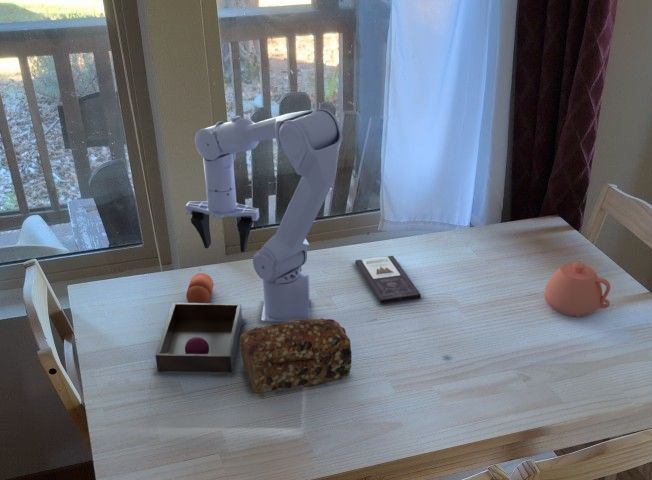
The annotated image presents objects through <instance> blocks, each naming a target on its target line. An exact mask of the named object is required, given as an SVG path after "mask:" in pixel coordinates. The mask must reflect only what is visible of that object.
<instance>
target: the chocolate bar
mask: <svg viewBox="0 0 652 480" xmlns="http://www.w3.org/2000/svg"><path fill="white" fill-rule="evenodd" d="M355 266H356V268H357V269H358V271H359V272H360V274H361V275H362V277H363V278H364V280H365V282H366V284H367V285H368V286H369V288H370V289H371V291H372V293H373V295H374V296H375V298H376V299H377V301H378V302H379V304H380V305H383V304H390V303H397V302H403V301H410V300H411V301H412V300H417V299H421V295H422V294H421V293H420V291H419V290H418V288H417V287H416V286H415V284H414V283H413V282H412V280H411V278H410V277H409V276H408V275H407V273H406V272H405V270H404V268H402V266H401V265H400V263H399V262H398V261H397V258H395V256H394V255H387V256H378V257H371V258H363V259H355Z"/></svg>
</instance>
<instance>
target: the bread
mask: <svg viewBox="0 0 652 480" xmlns="http://www.w3.org/2000/svg"><path fill="white" fill-rule="evenodd" d="M239 346H240V349H239V350H240V354H241V359H242V364H243V369H244V371H245V374H246V376H247V379H248V382H249V385H250V387H251V389H252V391H253V393H254V394H263V393H266V392H270V391H271V392H272V391H279V390H280V391H281V390H286V389H291V388H296V387H301V386H303V387H308V386H314V385H320V384H322V383H325V382H329V381H334V380H338V379H345V378H347V377H348V376H350V373H351V369H352V362H353V361H352V358H353V357H352V352H353V351H352V347H351V339H350V337H348V335H347V332H346V329H345V327H343V326H341V324H340V322H338V321H336V320H335V319H332V318H309V319H301V320H293V321H281V322H278V323H271V324H268V325H266V326H265V325H264V326H259V327H258V326H257V327H254V328H251V329H248V330H245V331H244V332H242V334H241V335H240V336H239Z"/></svg>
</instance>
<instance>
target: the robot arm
mask: <svg viewBox="0 0 652 480" xmlns="http://www.w3.org/2000/svg"><path fill="white" fill-rule="evenodd" d="M274 139H275V141H276V145H277V146H278V147H279V148H282V150H283V152H284V154H285V155H286V157H287V159H288V160H289V163H290V164H291V166H292V168H293V169H294V171H295V173H296V175H299V176H301V178H300V180H299V182H298V184H297V186H296V188H295V191H294V193H293V195H292V197H291V199H290V201H289V203H288V206H287V208H286V210H285V213H284V214H283V217H282V219H281V221H280V223H279V225H278V227H277V230H276V233H274V235H272V236H271V237H270V238H269V239H268V240H267V241H266V242H265V243H264V244H263V245H262V247H261V249H260V250H258V251H256V252H255V253H254V254H253V256H252V265H253V269H254V271H255V273H256V275H257V276H258V277H259V278H260V279H261V280H262V287H263V307H262V312H261V319H260V320H261V321H262V322H291V321H293V320H301V319H310V310H311V309H312V299H311V298H310V297H311V290H310V289H311V288H310V286H311V285H310V274H308V273H303V272H302V267H303V266H305V264H306V263H307V260H308V249H309V247H310V244H309V241H308V240H307V236H308V234H309V232H310V230H311V228H312V226H313V224H314V222H315V220H316V218H317V216H318V214H319V212H320V211H321V209H322V206H323V205H324V203H325V200H326V198H327V196H328V195H329V192H330V190H331V188H332V186H333V184H334V183H335V180H336V176H337V164H338V152H339V151H338V150H339V148H340V146H341V144H342V141H343V139H344V136H343V132H342V130H341V127H340V123H339V120H338V118H337V117H336V116H335V114H334V113H333V112H332V111H331V110H329V109H326V108H320V109H318V110H316V111H314V110H313V109H310V110H301V111H296V112H289V113H284V114H282V115H279V116H274V117H271V118H268V119H264V120H261V121H258V122H254V121H253V120H252V119H250V118H247V117H243V118H242V116H241V115H236V116H234V117H231V118H230V121H228V122H227V121H226V122H225V121H224V120H220V121H217V122H216V123H215V125H212V126H209V127H205V128H201V129H200V130H198V131H197V132H196V133H195V136H194V145H195V148H196V150H197V152H198V154H199V155H200V156H201V157H202V162H203V170H204V172H203V173H204V182H205V192H206V200H205V201H188V202H187V203H186V204H185V211H186V215H191V218H190V223H191V225H193V227H194V228H195V230H196V231H197V232H198V234H199V237H200V239H201V241H202V244H203V247H204V249H209V248H210V246H211V245H212V238H211V237H212V235H211V230H210V229H211V228H210V216H211V217H212V218H213V219H218V220H219V219H223V218H226V217H227V218H236V219H239V221H238V222H237V224H236V227H237V230H238V235H239V250H240V252H241V253H245V252H246V250H247V249H248V240H249V237H250V233H251V230H252V226H253V224H254V222H257V221H258V220H259V218H260V208H258V207H251V206H248V205H245V204H241V203H238V202H237V191H236V189H237V188H236V177H235V165H234V162H236V159H237V157H236V155H237V154H238V153H243V152H248V151H252V150H255V149H256V148H257V147H258V146H259V143H260V142H262V141H269V140H274Z"/></svg>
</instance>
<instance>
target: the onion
mask: <svg viewBox="0 0 652 480" xmlns="http://www.w3.org/2000/svg"><path fill="white" fill-rule="evenodd" d="M185 352H186V354H208V353H209V345H208V343H207V341H206V340H204V339H203V338H201V337H193V338H191V339H189V340H188V341H187V343H186V345H185Z"/></svg>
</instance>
